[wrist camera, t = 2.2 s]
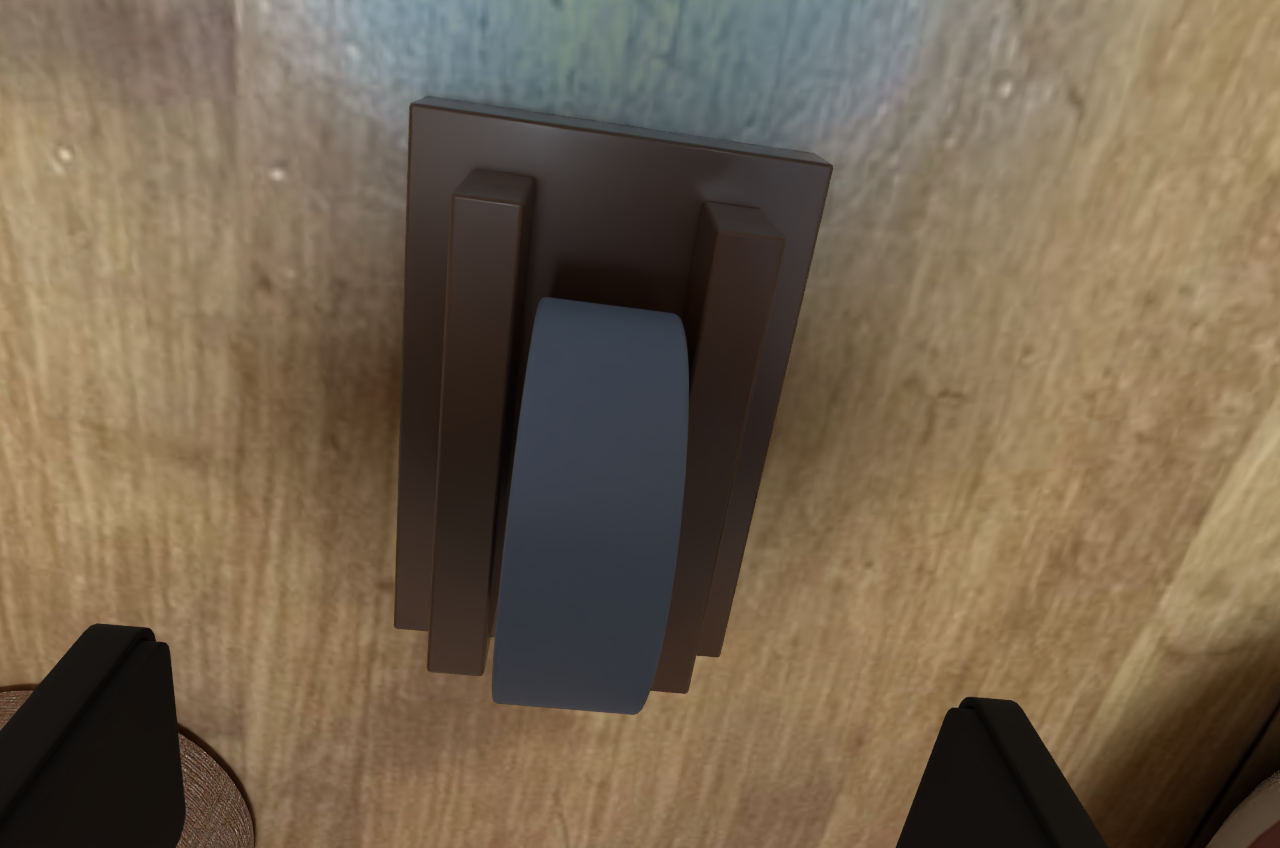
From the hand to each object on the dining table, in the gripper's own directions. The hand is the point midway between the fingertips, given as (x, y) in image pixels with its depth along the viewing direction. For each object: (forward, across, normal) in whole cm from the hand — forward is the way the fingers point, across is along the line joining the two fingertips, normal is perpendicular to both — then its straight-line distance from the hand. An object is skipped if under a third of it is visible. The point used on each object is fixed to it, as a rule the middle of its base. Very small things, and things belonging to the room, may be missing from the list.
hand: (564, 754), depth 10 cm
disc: (+9, 0, 0) cm, 9 cm away
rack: (+10, 0, 0) cm, 11 cm away
